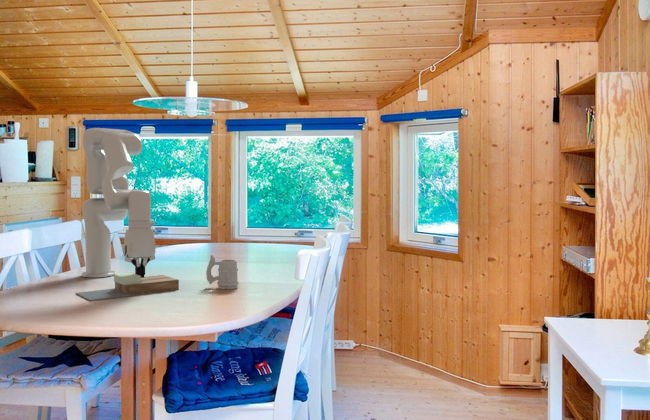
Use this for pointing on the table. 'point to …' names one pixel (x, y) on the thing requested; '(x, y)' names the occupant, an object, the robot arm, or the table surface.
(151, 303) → the table surface
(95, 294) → the mat
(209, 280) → the mug
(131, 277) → the tile
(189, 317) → the table surface
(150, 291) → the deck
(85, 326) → the table surface
